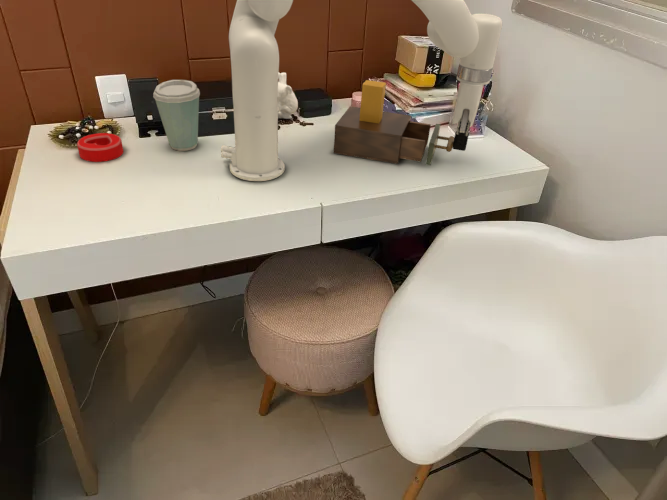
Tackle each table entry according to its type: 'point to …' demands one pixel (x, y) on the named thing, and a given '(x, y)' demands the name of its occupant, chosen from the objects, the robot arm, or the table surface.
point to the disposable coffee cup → (179, 112)
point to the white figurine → (285, 98)
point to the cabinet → (370, 136)
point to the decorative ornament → (100, 147)
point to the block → (372, 101)
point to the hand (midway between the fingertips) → (459, 148)
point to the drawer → (421, 142)
